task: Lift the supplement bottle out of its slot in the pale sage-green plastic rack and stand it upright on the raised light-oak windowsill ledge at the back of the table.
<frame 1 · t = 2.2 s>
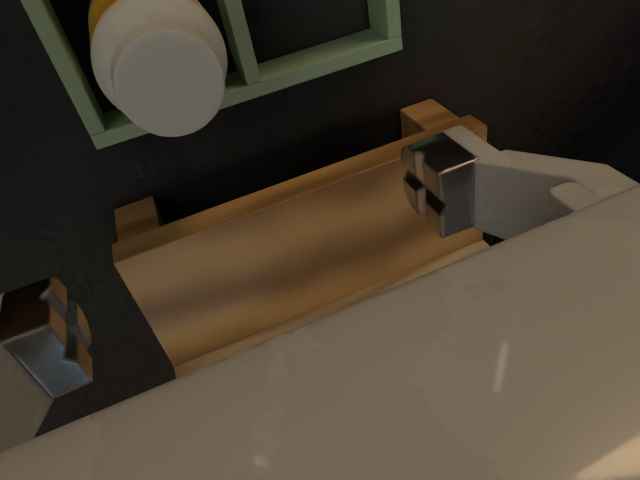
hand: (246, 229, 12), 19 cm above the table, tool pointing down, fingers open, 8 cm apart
supplement bottle: (144, 20, 26), resting in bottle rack
windowsill ledge: (295, 206, 36), on the table
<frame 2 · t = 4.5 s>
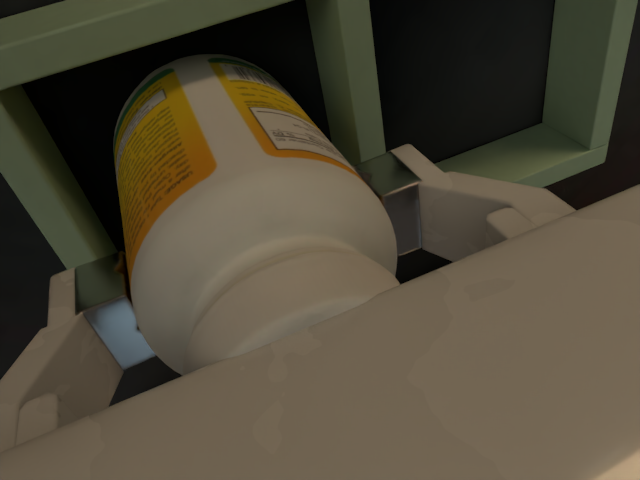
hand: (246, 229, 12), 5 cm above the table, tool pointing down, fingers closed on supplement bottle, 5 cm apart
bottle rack: (335, 97, 16), on the table
supplement bottle: (206, 139, 16), resting in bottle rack, touching gripper
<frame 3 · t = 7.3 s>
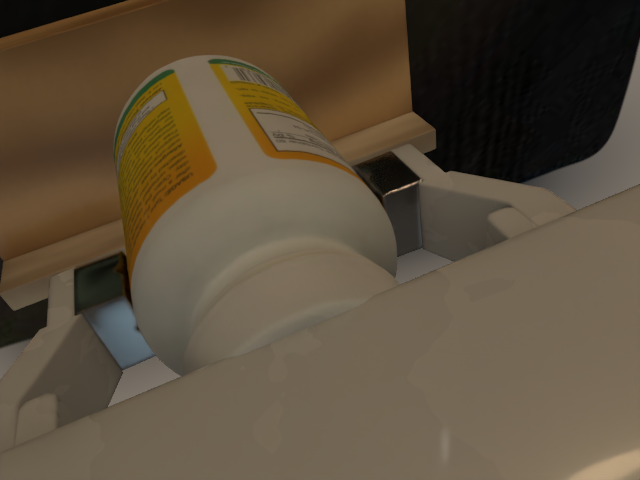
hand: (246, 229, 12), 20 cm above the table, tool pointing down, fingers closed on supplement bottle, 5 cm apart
supplement bottle: (206, 140, 16), point 15 cm above the table, touching gripper
windowsill ledge: (176, 71, 29), on the table
when the fingers open (11 cm above the table, at t = 10.1 s): supplement bottle stays where it is, resting on windowsill ledge.
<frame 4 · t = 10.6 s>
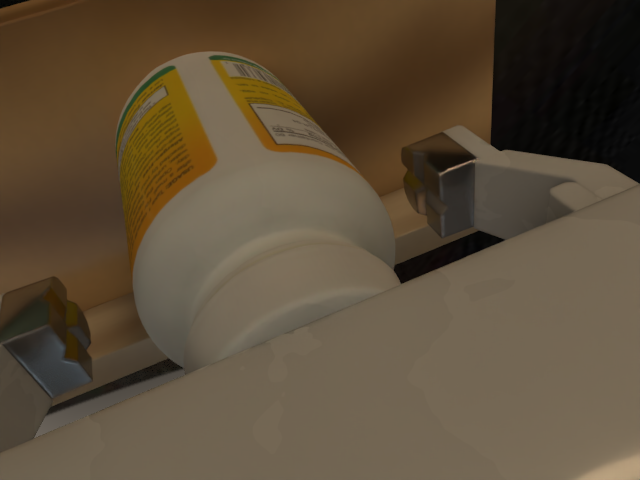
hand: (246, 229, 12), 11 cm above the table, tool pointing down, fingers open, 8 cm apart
supplement bottle: (207, 136, 16), point 6 cm above the table, touching windowsill ledge
windowsill ledge: (155, 96, 20), on the table
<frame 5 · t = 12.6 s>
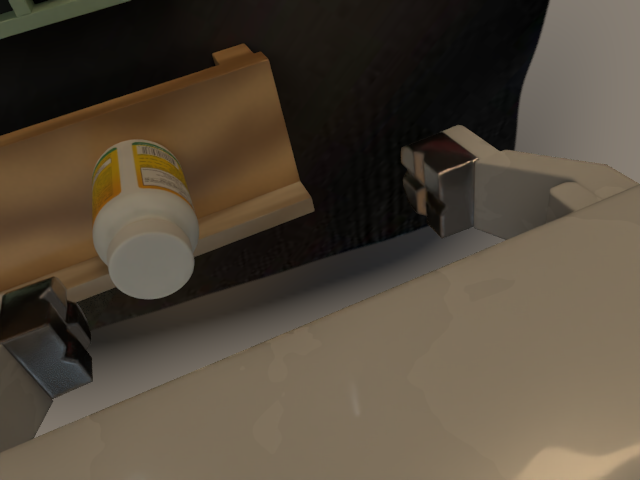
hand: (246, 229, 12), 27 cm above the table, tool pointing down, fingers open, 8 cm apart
supplement bottle: (137, 175, 33), point 6 cm above the table, touching windowsill ledge
windowsill ledge: (119, 150, 37), on the table
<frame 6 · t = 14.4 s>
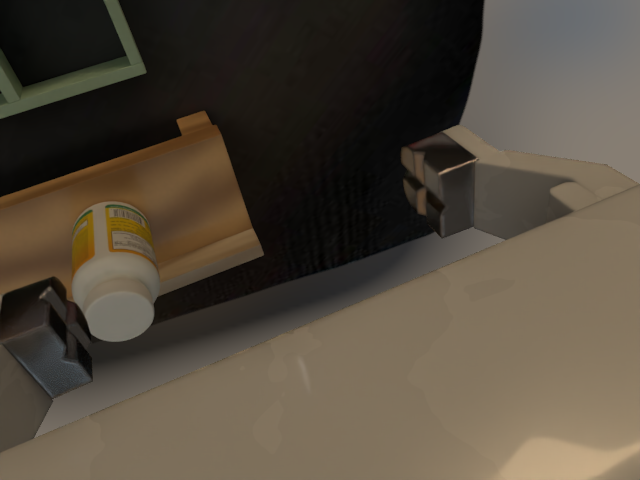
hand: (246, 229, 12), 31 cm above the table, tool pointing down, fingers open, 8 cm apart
supplement bottle: (111, 228, 39), point 6 cm above the table, touching windowsill ledge
windowsill ledge: (96, 200, 43), on the table
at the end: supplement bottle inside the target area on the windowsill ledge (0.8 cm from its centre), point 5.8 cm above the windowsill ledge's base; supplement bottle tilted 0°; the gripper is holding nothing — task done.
